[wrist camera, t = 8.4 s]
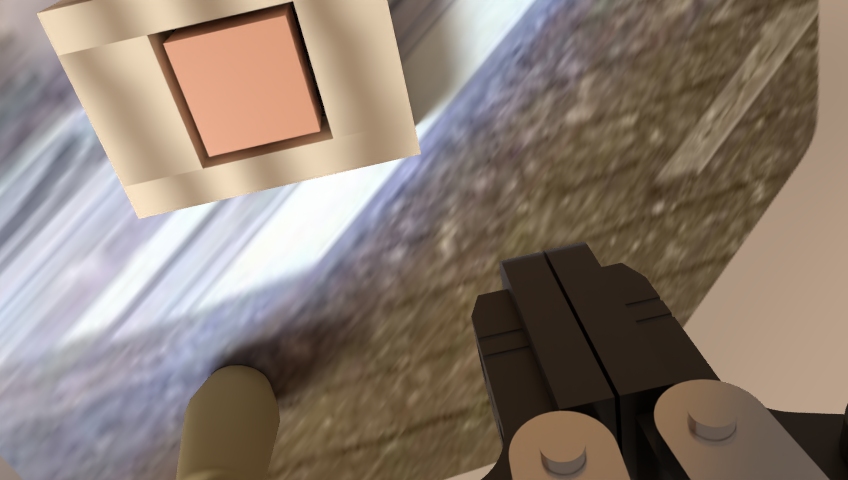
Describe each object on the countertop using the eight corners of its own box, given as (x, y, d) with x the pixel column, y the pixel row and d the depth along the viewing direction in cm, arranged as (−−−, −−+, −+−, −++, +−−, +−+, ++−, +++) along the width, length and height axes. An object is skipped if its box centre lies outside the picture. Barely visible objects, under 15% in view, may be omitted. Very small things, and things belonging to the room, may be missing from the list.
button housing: (369, -73, 42) (373, -65, 37) (413, 127, 49) (420, 153, 45) (67, -3, 42) (36, 13, 37) (156, 187, 49) (138, 218, 45)
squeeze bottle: (270, 346, 58) (245, 524, 43) (292, 410, 62) (276, 593, 47) (180, 362, 58) (122, 547, 42) (209, 425, 62) (165, 614, 47)
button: (290, 2, 42) (285, 15, 39) (321, 110, 46) (320, 131, 43) (177, 28, 43) (163, 43, 39) (219, 134, 46) (209, 156, 43)
